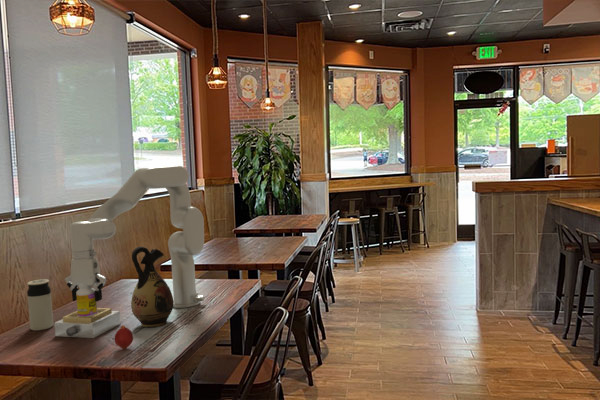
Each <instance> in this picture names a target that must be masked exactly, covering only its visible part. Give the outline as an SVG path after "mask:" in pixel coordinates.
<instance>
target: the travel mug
mask: <svg viewBox="0 0 600 400" xmlns="http://www.w3.org/2000/svg"><path fill="white" fill-rule="evenodd" d="M49 282H50V280H49V279H48V278H47V279H45V278H42V279H35V280H31V281H28V282H27V286H28V289H27V291H26V294H27V305H28V320H29V329H30V330H32V331H34V332H35V331H38V332H39V331H44V330H47V329H50V328H52V327H53V326H54V315H53V303H52V291H51V287H50V285H49Z"/></svg>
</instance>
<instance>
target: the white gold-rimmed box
mask: <svg viewBox="0 0 600 400" xmlns="http://www.w3.org/2000/svg"><path fill="white" fill-rule="evenodd" d="M120 313H121V312H120V310H112V308H105V307H104V308H103V307H97V314H96V315H94V316H92V317H78V310H76V311H74V312H71V313H69V314H66V315H64V316H62V319H59V320H57V321H55V322H53V325H54V333H55V334H54V335H55V337H62V338H63V337H65V338H66V337H68V338H82V339H83V338H84V339H86V338H87V339H94V338H96V337H99V336H100V335H102V334H103V333H106V332H107V331H109V330H111V329H113V328H116V327H117V326H119V325H121V315H120Z"/></svg>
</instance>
